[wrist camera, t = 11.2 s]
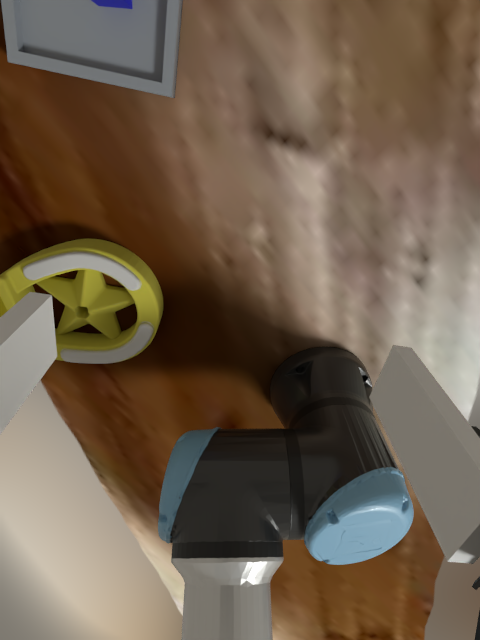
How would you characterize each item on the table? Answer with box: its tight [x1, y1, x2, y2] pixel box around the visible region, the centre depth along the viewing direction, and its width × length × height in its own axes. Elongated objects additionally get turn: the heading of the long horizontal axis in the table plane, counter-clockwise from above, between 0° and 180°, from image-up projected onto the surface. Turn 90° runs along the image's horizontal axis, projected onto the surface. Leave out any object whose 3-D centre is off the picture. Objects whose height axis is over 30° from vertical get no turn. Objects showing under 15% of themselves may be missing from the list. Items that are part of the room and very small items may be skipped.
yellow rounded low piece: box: [0, 239, 163, 364], centre depth 46 cm, size 16×21×5 cm
